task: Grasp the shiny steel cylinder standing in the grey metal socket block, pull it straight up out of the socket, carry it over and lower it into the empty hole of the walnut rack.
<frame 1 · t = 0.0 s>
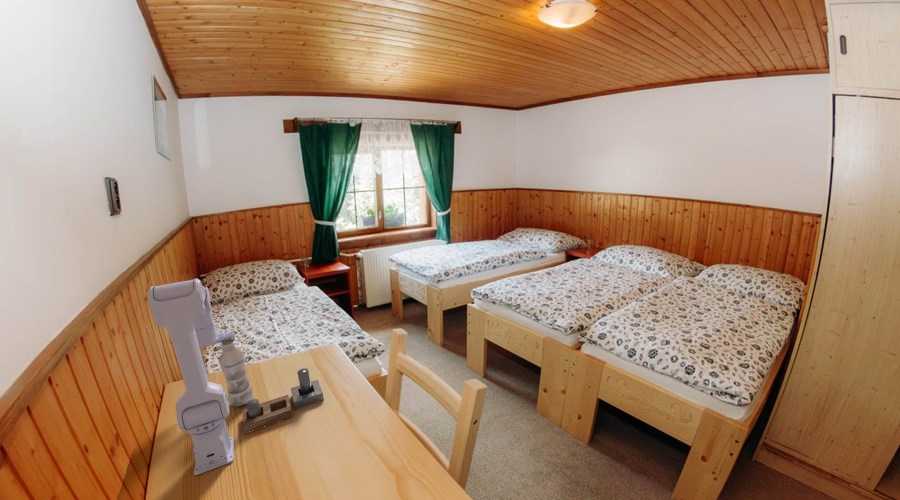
hand: (213, 366, 115), 10 cm above the table, fingers open, 7 cm apart
shiny steel cylinder: (305, 384, 112), in the socket block
socket block: (307, 397, 114), on the table
plastic bottle: (242, 403, 114), on the table
rack: (268, 417, 106), on the table
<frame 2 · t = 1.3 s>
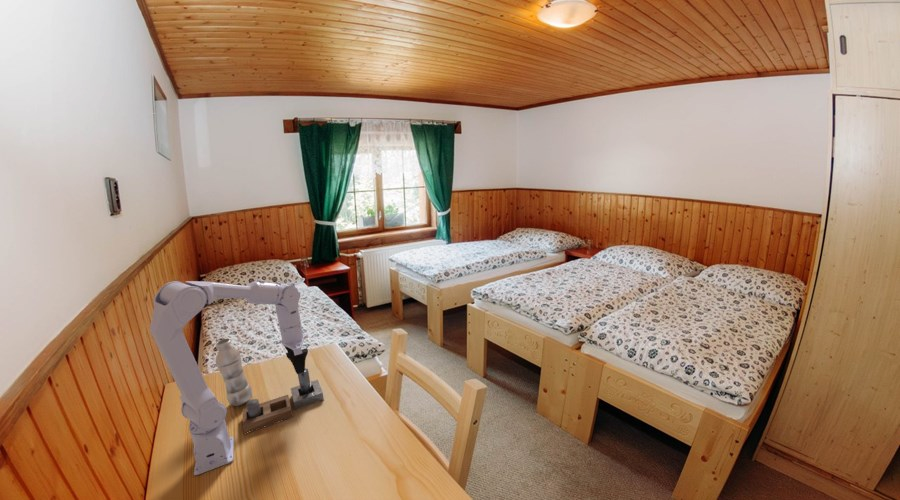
hand: (298, 366, 111), 10 cm above the table, fingers open, 7 cm apart
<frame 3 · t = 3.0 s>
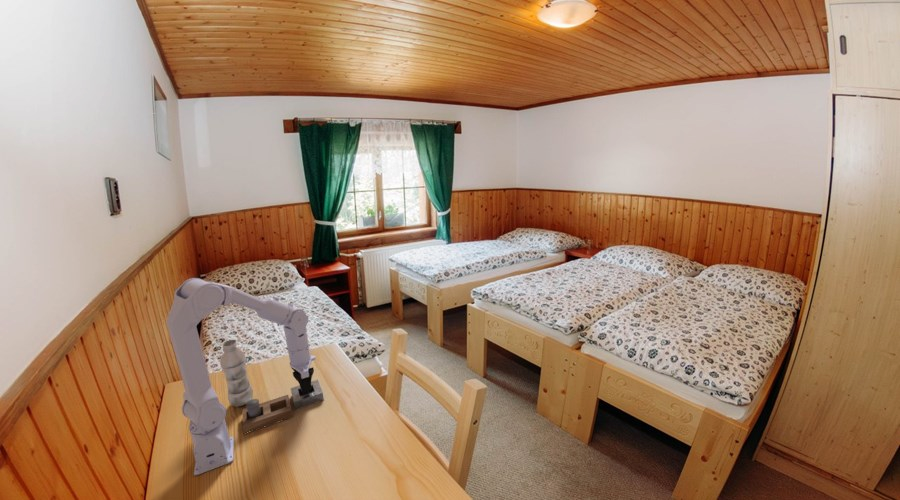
hand: (305, 387, 113), 3 cm above the table, fingers closed on shiny steel cylinder, 3 cm apart
shiny steel cylinder: (305, 384, 112), in the socket block, touching gripper
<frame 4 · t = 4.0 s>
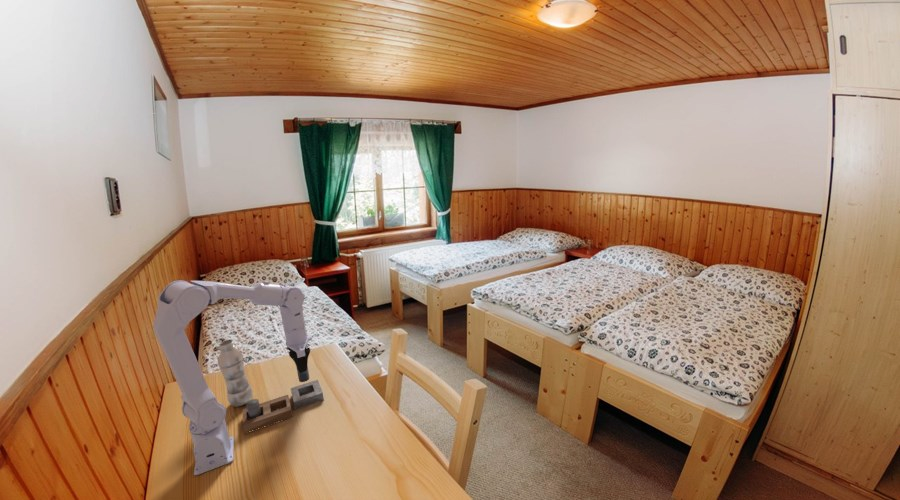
hand: (302, 368, 111), 10 cm above the table, fingers closed on shiny steel cylinder, 3 cm apart
shiny steel cylinder: (301, 365, 111), point 11 cm above the table, touching gripper
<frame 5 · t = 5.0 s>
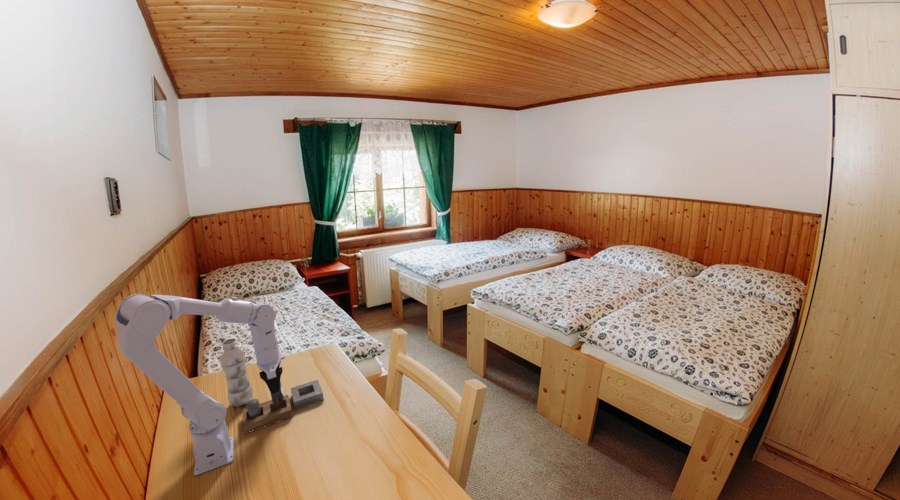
hand: (275, 388, 106), 8 cm above the table, fingers closed on shiny steel cylinder, 3 cm apart
shiny steel cylinder: (275, 385, 105), point 9 cm above the table, touching gripper
everything else where it was.
when the fingers open (5 cm above the table, at t = 5.8 s): shiny steel cylinder drops 1 cm, resting in rack.
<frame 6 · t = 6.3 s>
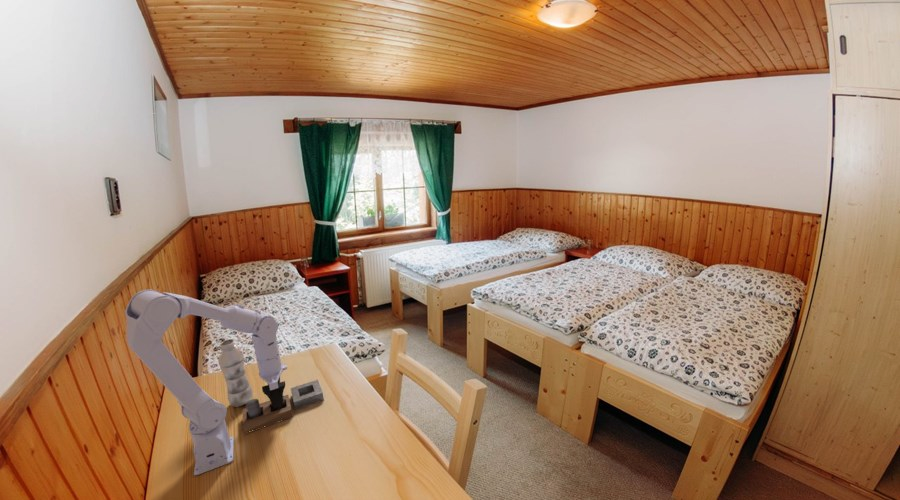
hand: (277, 399, 106), 5 cm above the table, fingers open, 7 cm apart
shiny steel cylinder: (277, 399, 106), resting in rack
everything else where it was.
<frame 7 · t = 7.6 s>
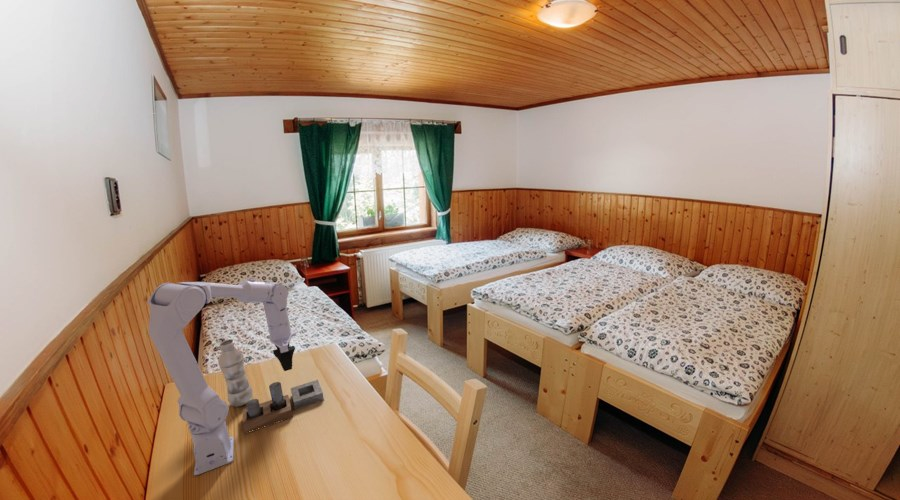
hand: (286, 363, 113), 11 cm above the table, fingers open, 7 cm apart
nothing on the table moved.
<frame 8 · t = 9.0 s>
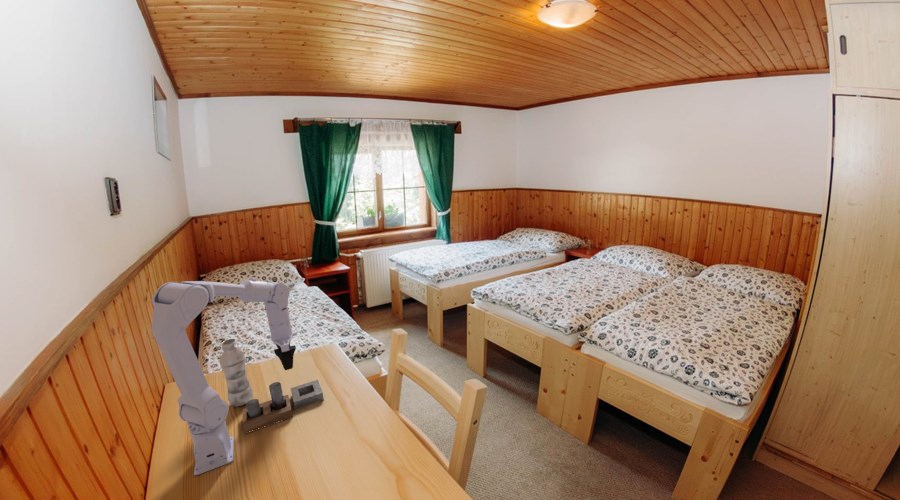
hand: (287, 363, 114), 10 cm above the table, fingers open, 7 cm apart
nothing on the table moved.
at the end: shiny steel cylinder 0.2 cm from the target spot on the rack, point 4.5 cm above the rack's base; shiny steel cylinder tilted 0°; the gripper is holding nothing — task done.
